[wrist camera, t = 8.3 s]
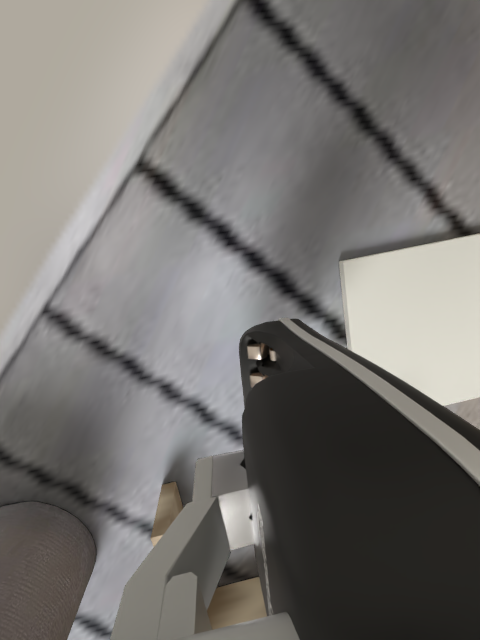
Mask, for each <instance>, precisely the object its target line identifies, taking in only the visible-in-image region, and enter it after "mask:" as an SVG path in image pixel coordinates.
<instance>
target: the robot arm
mask: <svg viewBox="0 0 480 640" xmlns="http://www.w3.org/2000/svg"><path fill="white" fill-rule="evenodd" d="M252 544H255V539H254V530H253V522H252V515H251V503H250V494H249V487H248V482H247V474H246V465H245V456H244V450H240V451H235V452H229V453H224V454H219V455H214V456H210V457H205V458H200V459H197V461H196V467H195V477H194V487H193V497H192V502H190V503H187V504H186V505H185V507H184V508H183V509H182V511H181V512H180V513H179V515H178V516H177V517H176V519H175V520H174V521H173V523H172V524H171V525H170V527H169V528H168V529H167V531H166V532H165V533H164V535H163V536H162V537H161V539H160V540H159V541H158V543H157V544H156V545H155V546H154V548H153V549H152V550H151V552H150V553H149V554H148V556H147V557H146V558H145V560H144V561H143V562H142V564H141V565H140V566H139V568H138V569H137V570H136V572H135V573H134V574H133V576H132V577H131V578H130V580H129V581H128V582H127V584H126V585H125V588H124V592H123V595H122V599H121V602H120V606H119V610H118V613H117V617H116V620H115V624H114V627H113V631H112V635H111V638H110V640H300V639H299V637H298V635H297V632H296V630H295V628H294V625H293V623H292V620H291V618H290V616H289V614H288V613H287V612H283V613H279V614H275V615H271V616H267V617H263V618H259V619H255V620H251V621H246V622H242V623H238V624H234V625H230V626H226V627H222V628H218V629H214V630H212V627H211V624H210V620H209V617H208V613H207V609H208V607H209V604H210V602H211V600H212V597H213V595H214V592H215V590H216V587H217V585H218V582H219V580H220V577H221V575H222V572H223V570H224V568H225V565H226V563H227V560H228V558H229V555H230V553H231V552H230V550H233V549H237V548H241V547H245V546H248V545H252Z"/></svg>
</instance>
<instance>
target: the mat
mask: <svg viewBox="0 0 480 640" xmlns="http://www.w3.org/2000/svg"><path fill="white" fill-rule="evenodd" d="M339 269H340V279H341V288H342V298H343V308H344V318H345V328H346V338H347V348H348V349H349V350H351V351H352V352H354V353H356V354H358V355H360V356H362V357H363V358H365V359H367V360H369V361H371V362H372V363H374V364H376V365H378V366H379V367H381V368H383V369H385V370H386V371H388V372H390V373H391V374H393V375H395V376H396V377H398V378H400V379H401V380H403V381H405V382H406V383H408V384H409V385H411V386H413V387H414V388H416V389H417V390H419V391H420V392H422V393H424V394H425V395H427V396H428V397H430V398H431V399H433V400H435V401H436V402H438V403H439V404H441V405H442V406H445V405H449V404H453V403H457V402H461V401H466V400H470V399H474V398H478V397H480V233H478V234H473V235H468V236H463V237H458V238H453V239H448V240H443V241H438V242H433V243H428V244H423V245H418V246H413V247H408V248H403V249H398V250H393V251H388V252H383V253H378V254H373V255H368V256H363V257H358V258H353V259H348V260H343V261H339Z"/></svg>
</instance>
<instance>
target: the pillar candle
mask: <svg viewBox="0 0 480 640" xmlns="http://www.w3.org/2000/svg"><path fill="white" fill-rule="evenodd" d="M95 559H96V548H95V544H94V540H93V538H92V536H91V534H90V532H89V531H88V529H87V528H86V527H85V526H84V524H83V523H82V522H80V521H79V519H78V518H77V517H75V516H73V515H72V514H70V513H68V512H67V511H64V510H62V509H61V508H59V507H56V506H54V505H51V504H50V505H48V504H45V503H41V502H33V501H31V502H21V503H17V504H12V505H6V506H1V507H0V640H67V638H68V635H69V633H70V630H71V627H72V625H73V622H74V619H75V616H76V614H77V611H78V609H79V606H80V603H81V600H82V598H83V595H84V592H85V590H86V587H87V584H88V582H89V579H90V577H91V574H92V572H93V568H94V564H95Z"/></svg>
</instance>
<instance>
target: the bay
mask: <svg viewBox="0 0 480 640" xmlns="http://www.w3.org/2000/svg"><path fill="white" fill-rule="evenodd" d="M182 509H183V505H182V502H181V498H180V495H179V491H178V488H177V484H176V482H171V483H167V484H163V485H162V488H161V493H160V497H159V502H158V507H157V511H156V516H155V521H154V525H153V530H152V535H151V540H152V543H153V546H155V545H156V544H157V543H158V541H159V540H160V539H161V537H162V536H163V535H164V533H165V532H166V531H167V529H168V528H169V527H170V525H171V524H172V523H173V521H174V520H175V519H176V517H177V516H178V515H179V513H180V512H181V511H182ZM207 613H208V617H209V620H210V624H211V627H212V630H214V629H218V628H222V627H226V626H230V625H234V624H238V623H242V622H246V621H251V620H255V619H259V618H263V617H267V613H266V608H265V604H264V599H263V594H262V589H261V584H260V578H259V577H256V578H252V579H248V580H244V581H241V582H237V583H233V584H229V585H225V586H222V587H218V588H216V590H215V592H214V595H213V597H212V600H211V602H210V604H209V607H208V609H207Z"/></svg>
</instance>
